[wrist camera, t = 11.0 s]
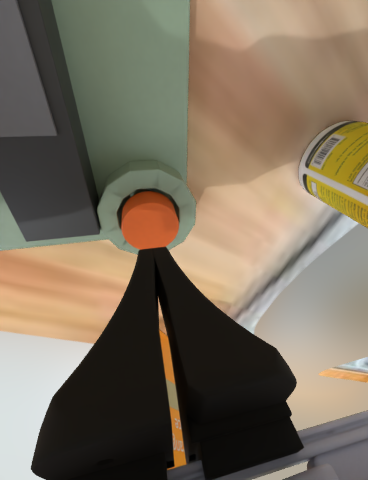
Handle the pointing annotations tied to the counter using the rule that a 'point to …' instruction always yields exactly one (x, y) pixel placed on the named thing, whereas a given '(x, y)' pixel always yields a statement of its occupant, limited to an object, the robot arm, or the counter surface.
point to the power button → (149, 220)
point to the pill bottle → (339, 169)
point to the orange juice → (173, 404)
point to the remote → (41, 129)
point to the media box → (126, 108)
